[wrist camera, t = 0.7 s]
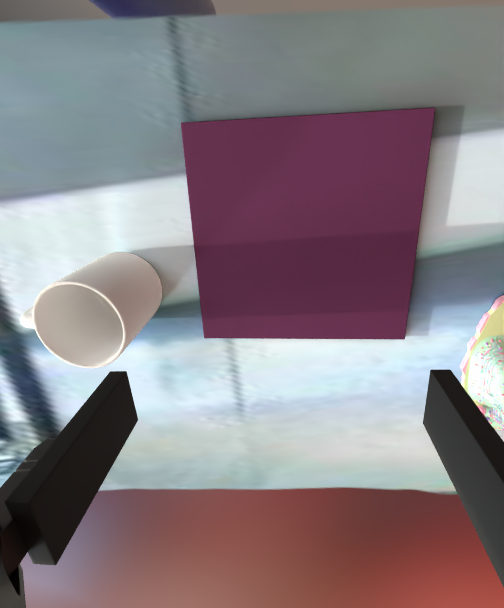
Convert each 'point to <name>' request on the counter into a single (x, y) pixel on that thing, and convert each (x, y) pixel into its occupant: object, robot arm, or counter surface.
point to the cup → (96, 309)
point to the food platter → (487, 365)
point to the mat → (307, 222)
